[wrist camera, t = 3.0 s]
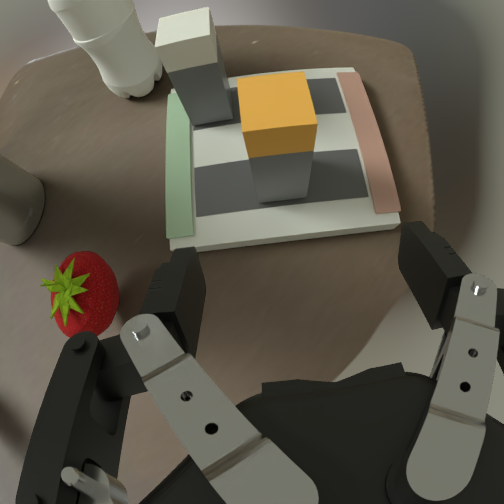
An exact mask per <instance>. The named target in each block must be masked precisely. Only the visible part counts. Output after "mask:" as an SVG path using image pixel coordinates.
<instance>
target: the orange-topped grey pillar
mask: <svg viewBox="0 0 504 504" xmlns="http://www.w3.org/2000/svg"><path fill="white" fill-rule="evenodd" d="M237 88H238V97H239V106H240V116H241V125H242V133H243V137H244V142H245V146H246V150H247V154H248V158H249V162H250V167H251V171H252V175H253V179H254V184H255V188H256V192H257V197H258V201H259V203H264V202H272V201H281V200H289V199H298V198H306V197H307V191H308V185H309V179H310V172H311V166H312V160H313V153H314V146H315V140H316V133H317V126H318V123H317V119H316V115H315V111H314V107H313V103H312V99H311V95H310V91H309V88H308V84H307V80H306V77H305V73H304V71H302V72H289V73H279V74H269V75H260V76H252V77H245V78H238V79H237Z"/></svg>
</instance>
